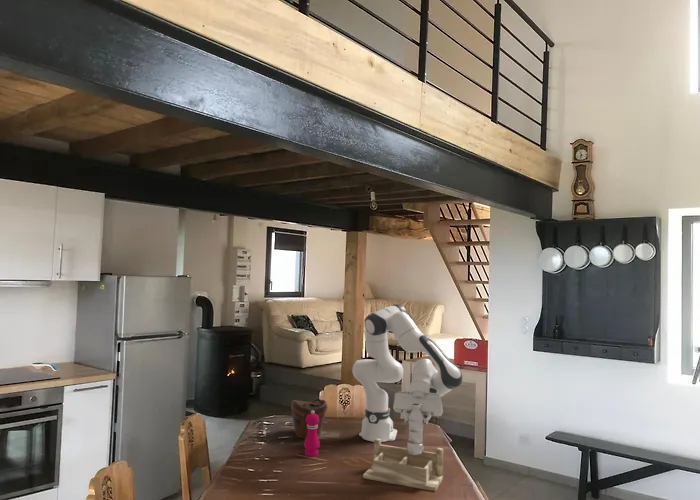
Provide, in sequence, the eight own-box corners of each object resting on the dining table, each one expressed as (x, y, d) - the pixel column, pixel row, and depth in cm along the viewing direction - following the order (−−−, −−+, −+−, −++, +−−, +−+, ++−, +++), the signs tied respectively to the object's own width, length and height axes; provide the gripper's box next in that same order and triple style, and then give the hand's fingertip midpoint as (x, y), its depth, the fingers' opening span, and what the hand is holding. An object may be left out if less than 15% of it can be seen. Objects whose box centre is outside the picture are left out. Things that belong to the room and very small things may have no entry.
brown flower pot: (334, 432, 278) (334, 397, 278) (311, 443, 261) (311, 406, 261) (307, 426, 287) (307, 393, 288) (283, 436, 270) (283, 400, 271)
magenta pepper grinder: (317, 457, 241) (318, 412, 242) (301, 456, 243) (302, 411, 243) (321, 452, 249) (322, 408, 249) (306, 450, 250) (307, 407, 250)
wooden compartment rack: (374, 466, 233) (375, 438, 233) (443, 477, 222) (443, 448, 222) (363, 478, 220) (363, 448, 220) (435, 491, 208) (435, 460, 209)
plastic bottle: (404, 452, 220) (406, 402, 222) (420, 452, 221) (422, 402, 223) (408, 457, 214) (410, 405, 215) (425, 457, 215) (426, 406, 216)
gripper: (394, 386, 228) (389, 416, 219) (443, 390, 223) (440, 420, 213) (396, 394, 232) (391, 424, 223) (444, 398, 227) (441, 429, 217)
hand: (415, 422), depth 218 cm, fingers closed on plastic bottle, 6 cm apart
